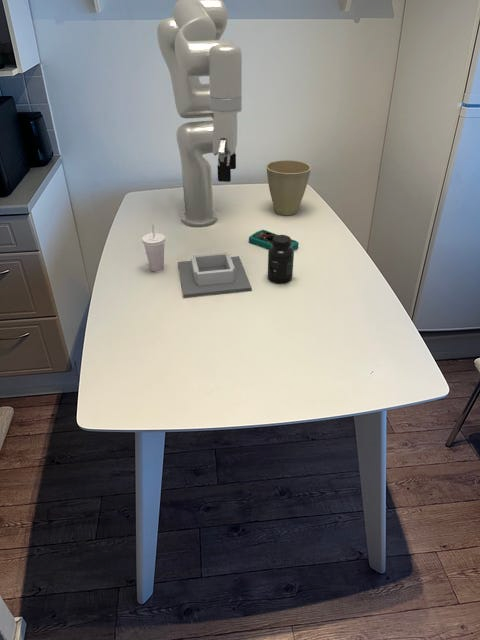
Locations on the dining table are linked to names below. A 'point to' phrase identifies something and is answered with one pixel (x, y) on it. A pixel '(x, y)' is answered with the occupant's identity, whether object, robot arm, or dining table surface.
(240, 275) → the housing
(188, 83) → the robot arm
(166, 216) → the dining table surface
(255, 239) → the digital multimeter
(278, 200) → the plant pot
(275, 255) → the supplement bottle
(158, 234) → the smoothie
